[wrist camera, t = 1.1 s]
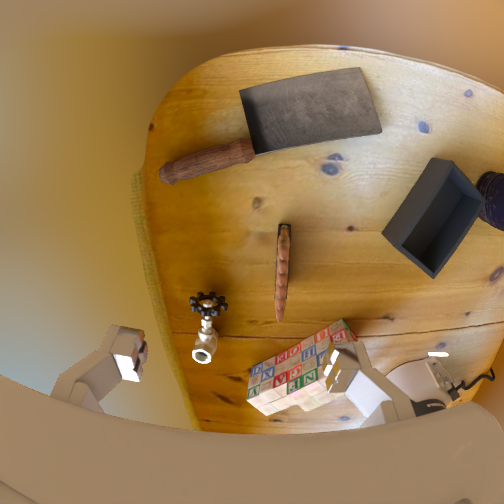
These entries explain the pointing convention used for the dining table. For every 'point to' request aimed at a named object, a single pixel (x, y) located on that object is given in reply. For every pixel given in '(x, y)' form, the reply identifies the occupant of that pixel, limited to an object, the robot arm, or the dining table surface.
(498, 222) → the dark blue cylinder
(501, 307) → the dining table surface
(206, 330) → the valve
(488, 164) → the dining table surface
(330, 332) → the stack of blocks
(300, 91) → the meat cleaver
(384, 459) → the robot arm
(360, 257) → the dining table surface
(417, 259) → the bin
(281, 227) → the ammunition clip
